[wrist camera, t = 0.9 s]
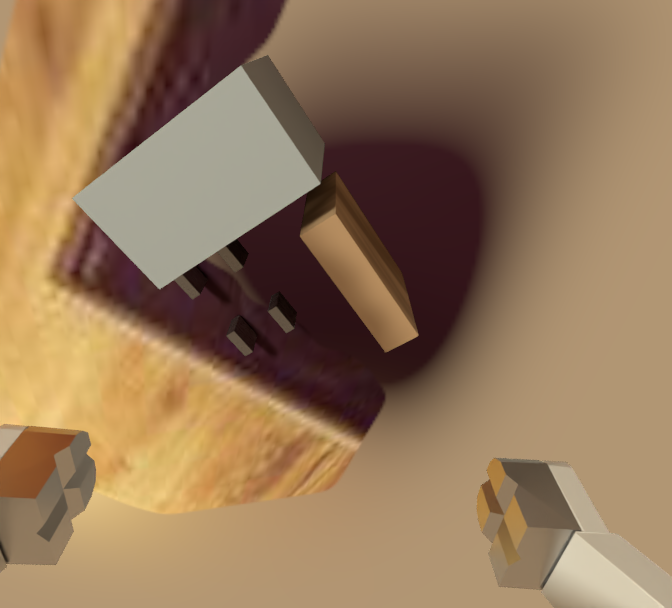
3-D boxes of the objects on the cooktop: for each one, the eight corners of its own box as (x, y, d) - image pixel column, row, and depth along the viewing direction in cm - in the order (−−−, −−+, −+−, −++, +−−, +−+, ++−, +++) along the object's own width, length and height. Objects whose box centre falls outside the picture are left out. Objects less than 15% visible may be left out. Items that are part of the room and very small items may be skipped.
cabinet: (267, 55, 37) (240, 65, 26) (324, 143, 40) (320, 183, 30) (139, 155, 41) (71, 198, 30) (201, 227, 44) (159, 289, 34)
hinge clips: (228, 229, 44) (221, 241, 41) (296, 312, 49) (294, 328, 46) (179, 261, 46) (170, 275, 43) (249, 339, 50) (245, 356, 48)
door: (335, 171, 41) (335, 213, 32) (401, 272, 46) (418, 335, 37) (298, 195, 42) (288, 243, 33) (367, 292, 48) (375, 357, 38)
